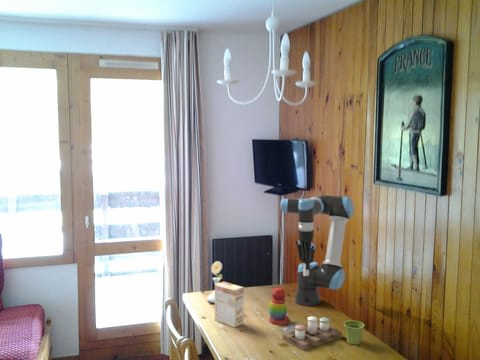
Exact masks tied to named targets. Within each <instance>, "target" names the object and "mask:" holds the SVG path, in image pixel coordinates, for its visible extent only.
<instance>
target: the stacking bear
mask: <svg viewBox="0 0 480 360" xmlns="http://www.w3.org/2000/svg"><path fill="white" fill-rule="evenodd" d="M271 296H272V299H271V300H270V301H269V307H268V310H269V316H270V317H269V320H268V321H269V322H270V323H271V324H273V325H277V326H282V327H286V326H288V324H289V322H288V321H289V320H290V317H289V316H288V315H287V313H288V306H287V301H286V297H287V293H286V292H285V291H284V289H283V288H281V287H279V286H277V287H276V288H275V287H274V289H272V293H271Z"/></svg>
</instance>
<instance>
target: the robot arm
mask: <svg viewBox="0 0 480 360" xmlns="http://www.w3.org/2000/svg"><path fill="white" fill-rule="evenodd" d="M279 204H280V206H279V208H280V210H281V212H282V213H286V214H287V213H289V214H298V238H299V239H298V240H297V241H295V245H296V247H297V254H298V260H299V261H301V262H302V263H300V264H298V266H297V290H296V293H295V295H294V302H295V304H297V305H300V306H306V307H314V306H318V305H320V304H321V300H322V299H321V296H320V292H319V288H325V289H329V290H335V291H336V290H339V289H341V287H343V284H344V282H345V278H346V275H345V274H346V272H345V270H344V269H343V266H342V264H341V260H342V252H343V244H344V238H345V232H346V224H347V222H349V220H350V218H352V217H353V216H354V212H355V211H354V210H355V209H354V207H355V206H354V202H353V199H352V198H351V197H349V196H344V195H343V196H342V195H319V196H318V195H317V196H312V197H310V198H282V199H281V201H280V203H279ZM319 214H320V215H324V216H325V215H326V216H328V218H329V220H330V225H329V231H328V233H329V234H328V238H327V245H326V252H325V259H324V261H323V262H321V266H320V265H319V263H318V262H317V261H314V260H315V259H314V258H315V253H316V249H317V248H318V245H317V244H314V241H313V239H314V234H315V233H314V232H315V231H314V226H315V225H314V216H316V215H319Z"/></svg>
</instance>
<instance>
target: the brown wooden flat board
mask: <svg viewBox="0 0 480 360" xmlns="http://www.w3.org/2000/svg"><path fill="white" fill-rule="evenodd" d="M342 334H343V333H342V331H340V330H338V329H336V328H334V327H331V326H330V325H329V331H328V332H325V333H324V332H322V331H320V322H317V333H316V334H310V333H308V326H307V327H305V339H304V340H301V341H299V340H297V339H295V331H292V332H289V333H283V334H282V341H283V340H284V341H285V342H286V343H289V344H290V345H292V346H294V347H296V348H298V349H299V350H302V351H305V350H308V349H312V348H314V347H317V346H320V345H322V344H325V343H328V342H331V341H335V340H337V339H339V338H342V337H343V336H342Z"/></svg>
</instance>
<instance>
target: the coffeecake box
mask: <svg viewBox="0 0 480 360" xmlns="http://www.w3.org/2000/svg"><path fill="white" fill-rule="evenodd" d="M214 290H215V303H214V321H216V322H219V323H221V324H224V325H227V326H229V327H233V328H234V329H235V328H237V327H240V326H242V325H244V323H245V321H244V317H245V316H244V312H245V309H244V308H245V307H244V303H245V301H244V295H245V294H244V292H245V291H244V290H245V287H244V286H242V285H241V286H240V285H237V284H233V283H230V282H227V281H222V282H220V281H219V283H217V284H215V283H214Z"/></svg>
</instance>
